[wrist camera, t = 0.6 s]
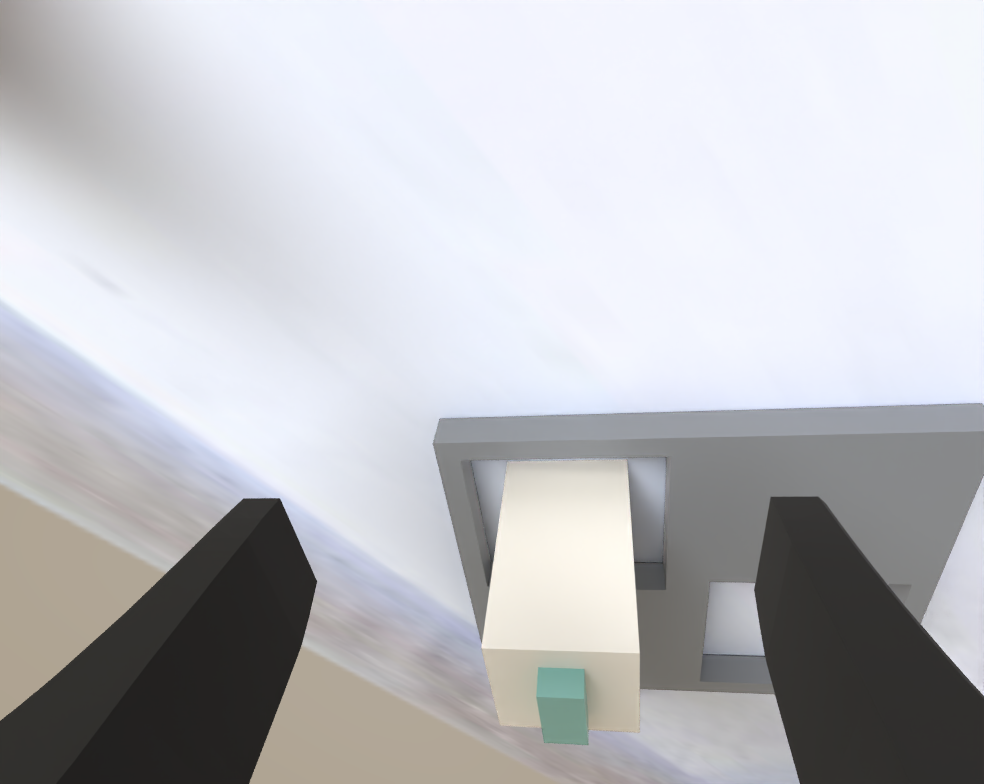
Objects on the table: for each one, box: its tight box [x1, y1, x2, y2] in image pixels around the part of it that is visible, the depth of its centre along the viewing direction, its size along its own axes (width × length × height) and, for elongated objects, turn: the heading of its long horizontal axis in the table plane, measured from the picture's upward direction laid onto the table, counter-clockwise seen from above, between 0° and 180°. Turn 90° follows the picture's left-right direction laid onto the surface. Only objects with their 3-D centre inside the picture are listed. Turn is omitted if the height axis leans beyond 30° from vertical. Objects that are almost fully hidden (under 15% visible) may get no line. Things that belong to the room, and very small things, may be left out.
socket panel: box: [433, 403, 984, 694], centre depth 24 cm, size 16×14×1 cm
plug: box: [481, 459, 640, 745], centre depth 21 cm, size 4×4×8 cm
